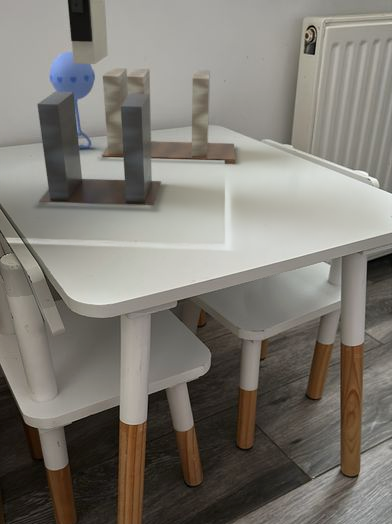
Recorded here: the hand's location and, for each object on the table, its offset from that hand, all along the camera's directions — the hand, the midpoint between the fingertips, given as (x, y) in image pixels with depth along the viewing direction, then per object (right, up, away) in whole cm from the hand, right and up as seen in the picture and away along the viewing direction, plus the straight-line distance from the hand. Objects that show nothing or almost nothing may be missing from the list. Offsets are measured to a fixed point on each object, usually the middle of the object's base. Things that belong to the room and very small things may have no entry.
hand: (89, 37), depth 79 cm
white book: (0, -2, +2) cm, 3 cm away
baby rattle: (-9, -3, +37) cm, 38 cm away
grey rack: (0, -19, +13) cm, 23 cm away
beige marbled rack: (+10, -4, +35) cm, 37 cm away
